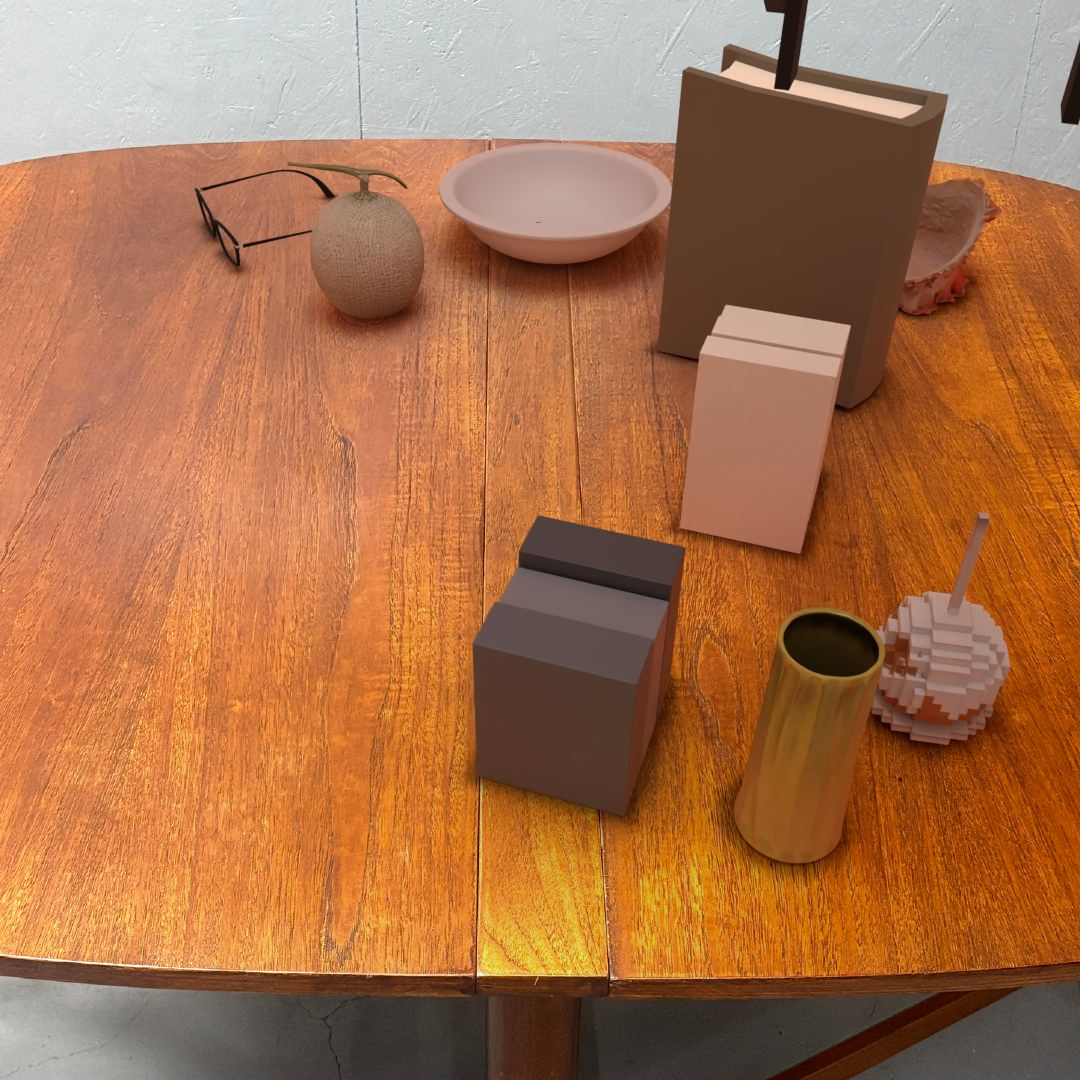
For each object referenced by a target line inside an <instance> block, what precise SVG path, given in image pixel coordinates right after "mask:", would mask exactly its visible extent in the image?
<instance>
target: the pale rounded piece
mask: <svg viewBox="0 0 1080 1080" xmlns="http://www.w3.org/2000/svg"><path fill="white" fill-rule="evenodd" d="M990 521H991V518H990V513H989V512H984V511H983V512H982V511H978V512H977V514H976V516H975V520H974V523H973V526H972V530H971V533H970V536H969V539H968V542H967V545H966V549H965V552H964V554H963V557H962V561H961V563H960V566H959V569H958V573H957V576H956V579H955V582H954V585H953V589H952V591H951V593H946V592H938V591H930V590H928V591H925V592H922V594H921V596H915V595H905V596H904V597H903V601H902V603H901V602H900V604H899V606H898V609H897V612H896V613H892V614H889V617H888V618H887V620H886V624H884V625H879V627H878V629H875V630H876V631H877V633H878V634H879V636H880V637H881V639H882V641H883V643H884V647H885V658H884V662H883V668H882V672H881V676H880V680H879V683H878V686H877V690H876V693H875V696H874V699H873V703H872V706H871V714H872V715H878V716H880V720H881V723H886V724H887V723H888V724H890V730H891V731H897V732H901V733H908V734H909V738H910V740H911V741H917V742H924V743H931V744H939V745H946V746H949V744H950V742H951V739H952V740H959V741H965V742H966V741H968V738H969V735H971V736H976V734H977V731H978V730H984V729H985V727H986V724H987V723H986V718H992V716H993V713H994V707H993V706H994V704H995V701H996V699H997V696H998V693H1001V692H1002V690H1003V687H1004V685H1005V682H1006V680H1007V678H1008V674H1009V672H1010V670H1011V663H1010V657H1009V651H1008V645H1007V641H1006V640H1004V634H1003V629H1002V626H999V625H996V622H995V621H996V620H995V618H992V617H991V613H990V612H988V610H984V605H983V604H979V603H978V604H977V603H971V601H970V600H967V596H966V592H967V589H968V586H969V582H970V580H971V577H972V574H973V572H974V571H973V570H974V568H975V565H976V562H977V559H978V556H979V553H980V550H981V547H982V544H983V542H984V541H983V540H984V538H985V536H986V535H985V534H986V532H987V529H988V526H989V523H990Z"/></svg>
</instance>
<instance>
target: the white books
mask: <svg viewBox="0 0 1080 1080" xmlns="http://www.w3.org/2000/svg"><path fill="white" fill-rule="evenodd" d="M850 328H851V326H850V325H846V324H840V323H834V322H828V321H822V320H815V319H809V318H803V317H797V316H791V315H785V314H779V313H773V312H767V311H761V310H755V309H749V308H743V307H737V306H731V305H725V308H724V310H723V312H722V314H721V316H719V317H718V319H717V321H716V323H715V326H714V328H713V330H712V333H711V336H714V337H720V338H726V339H732V340H738V341H743V342H749V343H755V344H761V345H767V346H772V347H778V348H784V349H790V350H796V351H801V352H807V353H813V354H819V355H825V356H830V357H836V358H841V363H840V368H839V373H838V378H837V383H836V388H835V393H834V397H833V402H832V407H831V412H830V417H829V422H828V427H827V431H826V436H825V441H824V446H823V451H822V456H821V461H820V465H819V470H818V475H817V480H816V485H815V490H814V495H813V499H812V504H811V509H810V514H809V519H808V522H810V518H811V514H812V510H813V506H814V501H815V498H816V494H817V489H818V487H819V482H820V478H821V473H822V469H823V463H824V459H825V454H826V448H827V445H828V439H829V435H830V430H831V424H832V420H833V416H834V409H835V406H836V404H835V402H836V397H837V392H838V387H839V382H840V378H841V373H842V368H843V363H844V358H845V354H846V349H847V344H848V343H847V342H848V338H849V333H850Z"/></svg>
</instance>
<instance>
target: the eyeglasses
mask: <svg viewBox="0 0 1080 1080" xmlns="http://www.w3.org/2000/svg"><path fill="white" fill-rule="evenodd" d="M282 172H284V173H285V172H288V173H296V174H300V175H303V176H305V177H307V178H310V179H311V180H312V181H313V182H314V183H315V184H316V185H317V186H318V187H319V189H320V190H321V192H322V193H323V194H324V196H325V197H326V198H329V199H330V198H331V199H334V198H336V195H335V194H334V193H333V192H332V191H331V189H330V188H329V187H328V186H327V185H326V184H325V182H323V181H322V180H321V179H320V178H318V177H316V176H314V175H312V174H311V173H308V172H305V171H302V170H297V169H276V170H271V171H266V172H261V173H257V174H252V175H248V176H244V177H239V178H237V179H233V180H227V181H224V182H220V183H216V184H211V185H208V186H203V187H199V188H198V187H195V188H194V194H195V196H196V198H197V201H198V204H199V207H200V211H201V215H202V218H203V220H204V224H205V226H206V228H207V230H208V232H209V233H210V235H211V237H212V238H213V239H218V240H219V241H218V242H219V243H220V246H221V248H222V251H223V253H224V255H225V256H226V258H227V259H228V260H229V262H230V263H231V264H232V265H234V266H235V267H237V268H238V267H240V266H241V255H240V250H241V249H246V248H250V247H254V246H259V245H263V244H267V243H271V242H275V241H279V240H284V239H288V238H293V237H297V236H301V235H305V234H310V233H312V230H313V229H309V230H305V231H304V230H303V231H300V232H295V233H290V234H285V235H280V236H276V237H271V238H266V239H261V240H257V241H251V242H245V243H242V244H239V242H238V240H237V239H236V238H235V236H234V235H233V233H232V232H231V231H230V230H229V229H228V228H227V227H226V225H224V224H223V223H222V222H221V221H219V220H218V219H215V218H214V216H213V213H212V211H211V209H210V207H209V206H208V204H207V202H206V201H205V198H204V197H203V194H202V193H201V192H207V191H209V190H213V189H216V188H220V187H224V186H227V185H231V184H234V183H235V184H236V183H239V182H242V181H245V180H249V179H252V178H257V177H260V176H265V175H270V174H275V173H282ZM206 213H207V214H208V218H207V215H206ZM208 219H209V221H210V223H209V221H208ZM210 224H211V226H210ZM223 232H224V233H225V234H226V235H227V237H228V238H229V239H230V241H231V242H232V245H233V248H234V253H235V259H236V260H234V259H233V258H232V257H231V255H230V254H229V252H228V250H227V247H226V246H225V242H224V240H223V239H224V238H225V237H224V236H225V235H224V234H223Z"/></svg>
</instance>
